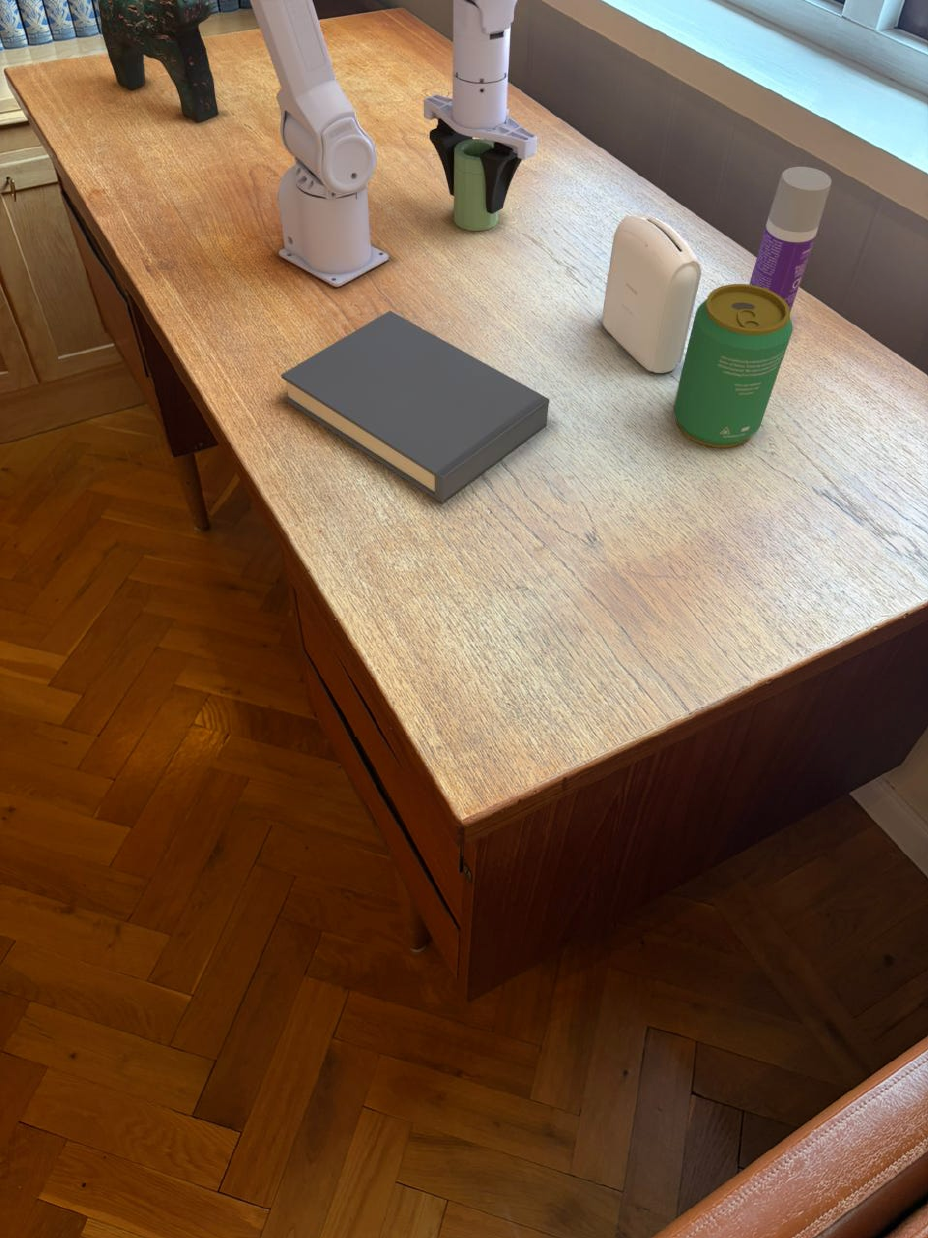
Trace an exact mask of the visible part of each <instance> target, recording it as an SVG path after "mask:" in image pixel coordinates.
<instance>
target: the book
mask: <svg viewBox="0 0 928 1238" xmlns="http://www.w3.org/2000/svg"><path fill="white" fill-rule="evenodd" d="M280 376H281V377H280V378H281V379H282V380H284V381H286V382H285V383H286V389H287V390H286V391H287V396H285V397H284V401H285V402H286V403H287V404H289V405H290V406H292V407H293V408H295V409H297V410H298V411H300V412H301V413H303V414H304V415H306V416H307V417H309V418H310V419H312V420H314V421H315V422H317V423H318V424H320V425H321V426H322V427H324V428H326V429H327V430H328V431H330V432H332V433H333V434H335V435H337V436H338V437H340V438H341V439H343V440H344V441H345V442H347V443H349V444H350V445H352V446H353V447H355V448H356V449H358V450H360V451H361V452H362V453H364V454H366V455H367V456H369V457H370V458H372V459H373V460H374V461H375V462H377V463H379V464H380V465H382V466H383V467H385V468H387V469H388V470H390V471H392V472H393V473H395V474H396V475H398V476H399V477H400V478H402V479H404V480H405V481H407V482H408V483H410V484H411V485H413V486H414V487H416V488H417V489H419V490H420V491H422V492H424V493H425V494H426V495H429V496H430V497H431V498H433V499H435V500H436V501H437V502H439V503H440V504H442V505H444V504H445V503H447V502H448V501H449V500H451V499H452V498H454V496H455V495H457V494H459V493H460V492H461V491H463V490H464V489H465V488H466V487H468V486H469V485H470V484H472V483H473V482H474V481H476V480H477V479H478V478H480V477H481V476H482V475H483V474H485V473H486V472H487V471H489V470H490V469H491V468H493V467H494V466H496V464H498V463H500V461H502V460H503V459H505V458H506V457H507V456H509V455H510V454H512V452H514V451H515V450H516V449H518V448H519V447H521V446H522V445H523V444H524V443H526V442H527V441H528V440H530V439H531V438H533V436H535V435H536V434H538V433H539V432H540V431H542V430H543V429H544V428H546V427H547V426H548V415H549V414H548V413H549V406H550V400H551V399H550V398H548V397H546V396H545V395H543V394H541V393H539V392H537V391H536V390H534V389H533V388H530V387H528V386H527V385H525V384H523V383H521V382H519V381H518V380H516V379H514V378H513V377H511V376H509V375H507V374H505V373H503V372H501V371H500V370H498V369H496V368H495V367H493V366H492V365H491V366H490V365H489V364H487V363H485V362H483V361H482V360H480V359H478V358H476V357H475V356H472V354H469V353H468V352H466V351H464V350H462V349H460V348H459V347H456V346H455V345H453V344H451V343H449V341H448V342H447V341H446V340H444V339H443V338H441V337H439V336H437V335H435V334H433V333H431V332H430V331H428V330H426V329H424V328H422V327H421V326H419V325H417V324H415V323H414V322H411V321H410V320H408V319H406V318H404V317H403V316H401V315H399V314H397V313H396V312H393V311H392V310H388V311H387V312H385V313H383V314H381V315H380V316H378V317H377V318H375V319H373V320H371V321H369V322H368V323H366V324H365V325H363V326H361V327H359V328H358V329H356V330H354V331H353V332H351V333H349V334H347V335H346V336H344V337H342V338H341V339H339V340H337V341H335V342H334V343H332V344H331V345H329V346H327V347H326V348H324V349H322V350H321V351H318V352H317V353H315V354H314V355H312V356H310V357H308V358H307V359H305V360H304V361H303V360H302V362H300V363H298V364H297V365H295V366H293V367H291V368H290V369H288V370H286V371H284V372H283V373H281V375H280Z"/></svg>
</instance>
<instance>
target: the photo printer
mask: <svg viewBox="0 0 928 1238" xmlns="http://www.w3.org/2000/svg"><path fill="white" fill-rule="evenodd" d="M701 276H702V268H701V263H700V261H699V259H698V258H697V256H696V254H695V253H694V250H692V248H691V246H690V245H689V244H688V242H687V241H686V240H685V239H684V238H683V237H682V236H681V234H679V233H678V232H677V231H676V230H675V229H674V228H673V227H672V226H670V225H669V224H667V223H666V222H665V221H663V220H661V219H659V217H658V218H657V217H655V216H653V215H650V214H647V213H644V212H643V213H641V212H636V213H634V214H628V215H626V216H625V217H624V218H622V219H621V221H620V222H619V224H618V225H617V227H616V229H615V231H614V233H613V238H612V245H611V253H610V258H609V265H608V273H607V280H606V286H605V294H604V300H603V309H602V318H601V320H602V321H601V322H602V325H603V326H604V328H605V330H606V331H607V332H608V333H609V334H610V335H611V336H612V338H614V339H615V341H616V342H617V343H618V344H619V345H620V346H621V347H622V348H623V349H624V350H625V351H626V352H627V353H628V354H630V355H631V357H633V358H634V359H635V360H636V361H637V362H638V363H639V364H640V365H641V366H642V367H644V368H645V369H646V370H647V371H649V372H653V373H655V374H664V373H668V372H671V371H674V370H675V369H676V368H677V366H678V364H680V363H681V362H682V360H683V357H684V352H685V347H686V343H687V339H688V334H689V330H690V325H691V321H692V316H693V311H694V308H695V303H696V298H697V295H698V290H699V285H700V281H701Z"/></svg>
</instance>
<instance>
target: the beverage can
mask: <svg viewBox="0 0 928 1238" xmlns="http://www.w3.org/2000/svg"><path fill="white" fill-rule="evenodd" d="M695 311H696V312H695V315H694V319H693V323H692V328H691V330H690V336H689V340H688V343H687V344H688V345H687V348H686V351H685V356H684V360H683V364H682V370H681V372H680V373H681V374H680V376H679V380H678V385H677V389H676V393H675V398H674V402H673V407H672V409H673V410H672V411H673V415H674V417H675V420H676V424H677V427H678V428H679V430H680V431H681V432H682V433H683V434H684V435H685V436H686V437H687V438H688V439H690V440H692V441H694V442H696V443H698V444H700V445H704V446H707V447H711V448H732V447H736V446H740V445H742V444H744V443H745V442H747V441H748V440H749V439H750V438H751V436H753V435H754V434H756V433H757V432H758V431H759V429H760V427H761V425H762V422H763V419H764V416H765V413H766V410H767V408H768V405H769V401H770V398H771V395H772V393H773V390H774V387H775V383H776V381H777V377H778V375H779V372H780V369H781V366H782V363H783V360H784V357H785V354H786V352H787V348H788V346H789V342H790V339H791V337H792V333H793V330H794V329H793V327H794V325H793V322H792V318H791V312H790V309H789V306H788V304H787V303H786V302H785V300H784V299H782V298H781V297H780V296H779V295H777V294H776V293H774V292H772V291H770V290H768V289H765V288H762V287H759V286H754V285H749V283H748V284H747V283H732V284H725V285H721V286H719V287H717V288H714V290H712V291H710V292H709V294H708V295H707V298H706V299H705V300H704V301H703V302H702V303H700V305H699V306H698V307H697V309H696V310H695Z"/></svg>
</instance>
